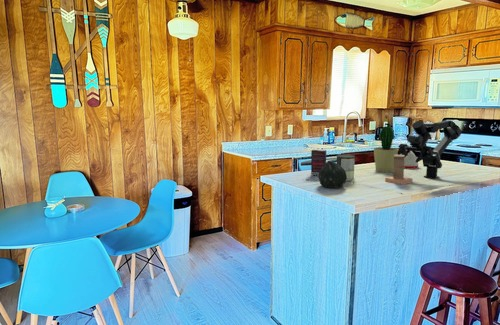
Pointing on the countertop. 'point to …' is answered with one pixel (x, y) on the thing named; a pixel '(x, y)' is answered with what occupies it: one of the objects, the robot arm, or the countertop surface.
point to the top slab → (399, 180)
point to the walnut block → (398, 167)
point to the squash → (332, 175)
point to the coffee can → (347, 164)
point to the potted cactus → (385, 151)
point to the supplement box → (317, 161)
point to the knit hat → (410, 161)
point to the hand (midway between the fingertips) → (408, 161)
